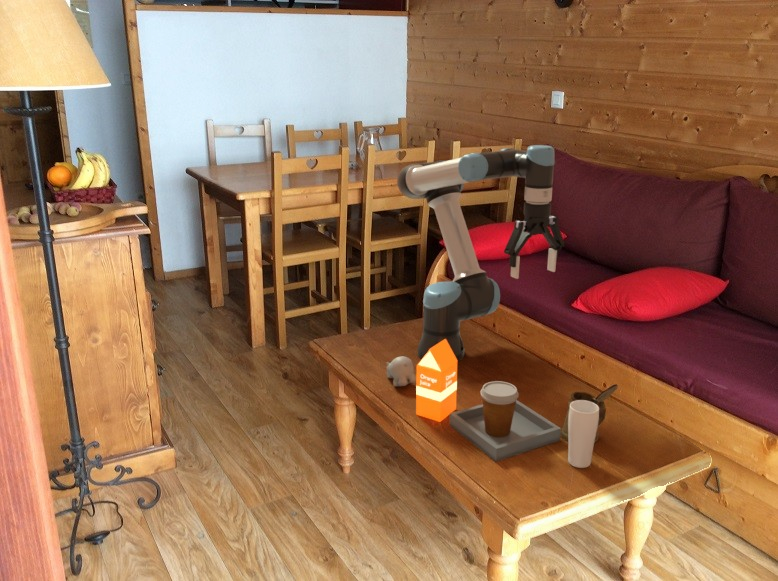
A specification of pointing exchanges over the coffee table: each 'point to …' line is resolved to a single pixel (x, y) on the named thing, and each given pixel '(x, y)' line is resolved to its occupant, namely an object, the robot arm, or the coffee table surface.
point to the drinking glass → (582, 432)
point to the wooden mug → (589, 397)
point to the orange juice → (436, 383)
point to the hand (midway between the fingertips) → (533, 274)
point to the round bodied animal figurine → (401, 371)
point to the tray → (523, 436)
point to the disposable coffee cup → (498, 407)
